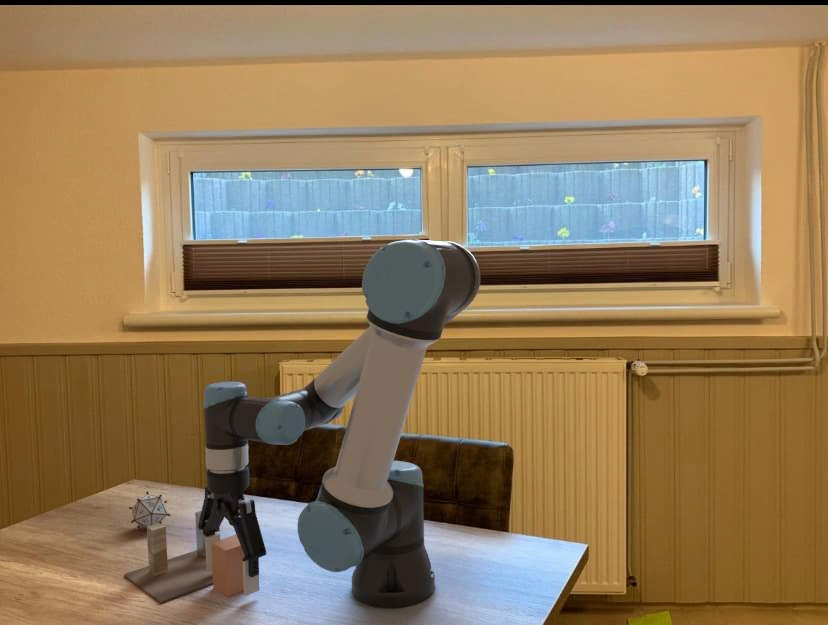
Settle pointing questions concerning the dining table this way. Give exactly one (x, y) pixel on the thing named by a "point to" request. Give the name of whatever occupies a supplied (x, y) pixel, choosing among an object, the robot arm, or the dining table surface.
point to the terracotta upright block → (227, 566)
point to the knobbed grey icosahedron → (149, 511)
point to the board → (174, 578)
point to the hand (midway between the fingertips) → (232, 580)
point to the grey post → (200, 538)
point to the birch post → (157, 549)
